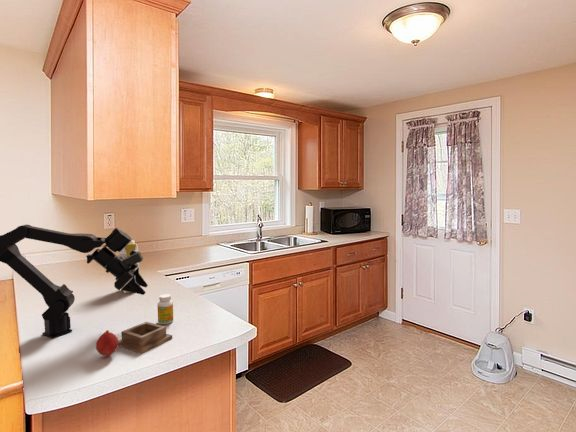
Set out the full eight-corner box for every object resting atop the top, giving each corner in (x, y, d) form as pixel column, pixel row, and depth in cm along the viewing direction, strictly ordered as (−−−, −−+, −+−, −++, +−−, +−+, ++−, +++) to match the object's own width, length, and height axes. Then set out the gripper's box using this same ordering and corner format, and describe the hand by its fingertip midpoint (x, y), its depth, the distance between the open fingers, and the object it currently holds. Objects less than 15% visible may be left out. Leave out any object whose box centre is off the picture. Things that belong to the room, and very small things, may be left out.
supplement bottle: (158, 325, 126) (157, 298, 125) (157, 320, 131) (156, 294, 130) (174, 323, 128) (173, 297, 127) (172, 318, 133) (172, 292, 132)
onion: (91, 359, 101) (90, 332, 101) (108, 350, 107) (107, 324, 106) (107, 362, 99) (105, 335, 99) (123, 353, 105) (122, 327, 104)
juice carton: (141, 291, 166) (139, 241, 164) (122, 294, 162) (120, 242, 160) (136, 286, 174) (135, 238, 172) (119, 289, 169) (117, 240, 167)
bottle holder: (141, 353, 105) (140, 340, 105) (115, 344, 111) (115, 332, 110) (172, 338, 115) (171, 326, 115) (147, 330, 121) (146, 319, 121)
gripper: (123, 249, 115) (160, 279, 119) (131, 240, 132) (163, 267, 137) (97, 274, 113) (136, 304, 117) (108, 262, 131) (142, 289, 135)
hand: (145, 289), depth 126 cm, fingers open, 9 cm apart
